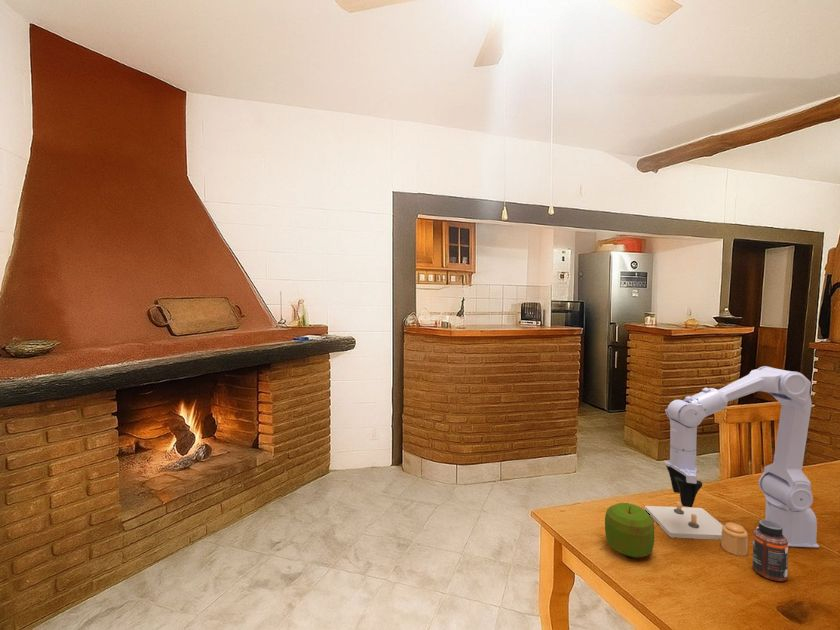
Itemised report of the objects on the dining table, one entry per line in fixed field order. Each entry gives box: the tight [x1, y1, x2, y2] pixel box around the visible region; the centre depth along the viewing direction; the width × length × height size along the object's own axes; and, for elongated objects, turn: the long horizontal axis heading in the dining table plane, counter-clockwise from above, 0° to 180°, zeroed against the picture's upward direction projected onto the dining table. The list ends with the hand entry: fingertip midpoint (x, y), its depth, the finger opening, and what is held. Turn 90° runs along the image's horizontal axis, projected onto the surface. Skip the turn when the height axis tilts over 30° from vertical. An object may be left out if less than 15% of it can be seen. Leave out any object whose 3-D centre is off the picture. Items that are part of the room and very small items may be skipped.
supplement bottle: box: [752, 519, 789, 582], centre depth 90 cm, size 6×6×11 cm
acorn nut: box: [720, 522, 749, 557], centre depth 99 cm, size 5×5×6 cm
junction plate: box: [644, 500, 724, 541], centre depth 111 cm, size 16×14×4 cm
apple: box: [604, 502, 655, 559], centre depth 99 cm, size 11×11×11 cm
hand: (682, 499), depth 105 cm, fingers open, 7 cm apart
